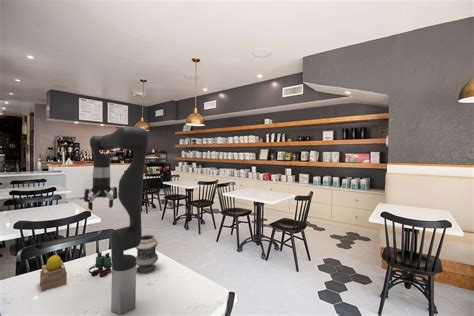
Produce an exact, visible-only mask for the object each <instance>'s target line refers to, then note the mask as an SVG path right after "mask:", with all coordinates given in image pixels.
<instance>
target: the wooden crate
mask: <svg viewBox="0 0 474 316" xmlns="http://www.w3.org/2000/svg"><path fill="white" fill-rule="evenodd" d="M67 273H68V272H67V269H66V266H65V264H64V262H63V260H61V265H60V267H59V268H58V269H57V270H55V271H49V270H48V269H47V266H46V264H44V265H41V270H40V273H39V274H40V275H39V277H40V278H39V280H40V282H39V283H40V288H41V292H42V293H43V292H46V291H49V290H52V289H55V288H59V287H62V286H66V285H67V283H68V282H67V277H68V275H67Z"/></svg>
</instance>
